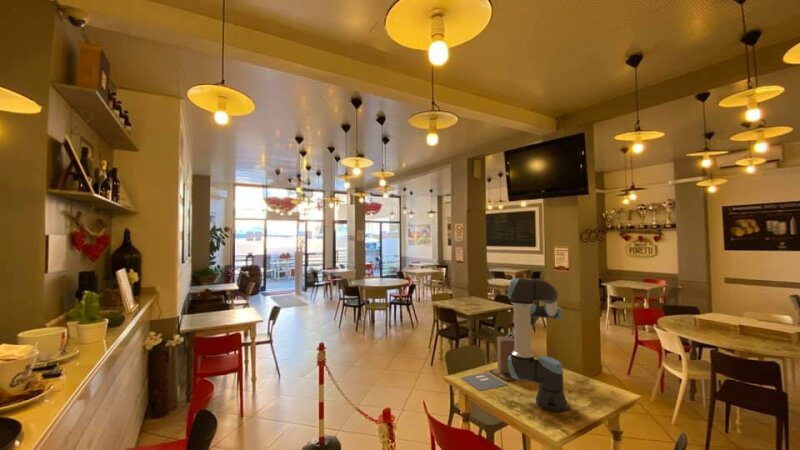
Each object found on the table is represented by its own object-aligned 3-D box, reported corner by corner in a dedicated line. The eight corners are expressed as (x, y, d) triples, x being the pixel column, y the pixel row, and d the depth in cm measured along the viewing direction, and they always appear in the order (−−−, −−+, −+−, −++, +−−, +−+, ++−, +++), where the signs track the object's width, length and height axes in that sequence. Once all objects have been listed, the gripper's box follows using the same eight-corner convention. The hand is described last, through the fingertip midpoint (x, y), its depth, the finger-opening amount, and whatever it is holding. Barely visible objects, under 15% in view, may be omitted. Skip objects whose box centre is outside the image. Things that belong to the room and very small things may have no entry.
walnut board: (526, 377, 209) (526, 375, 210) (505, 381, 203) (505, 379, 204) (509, 368, 224) (509, 366, 224) (489, 372, 218) (489, 369, 218)
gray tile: (507, 385, 199) (507, 384, 199) (479, 391, 192) (479, 390, 192) (486, 372, 218) (486, 372, 218) (460, 377, 210) (460, 377, 210)
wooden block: (517, 373, 209) (516, 340, 209) (501, 373, 209) (500, 340, 210) (512, 367, 219) (512, 336, 219) (497, 367, 219) (496, 336, 220)
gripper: (541, 337, 210) (522, 365, 203) (514, 327, 232) (496, 352, 226) (534, 329, 208) (515, 357, 202) (507, 320, 231) (489, 345, 224)
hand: (505, 355), depth 214 cm, fingers closed on wooden block, 12 cm apart
